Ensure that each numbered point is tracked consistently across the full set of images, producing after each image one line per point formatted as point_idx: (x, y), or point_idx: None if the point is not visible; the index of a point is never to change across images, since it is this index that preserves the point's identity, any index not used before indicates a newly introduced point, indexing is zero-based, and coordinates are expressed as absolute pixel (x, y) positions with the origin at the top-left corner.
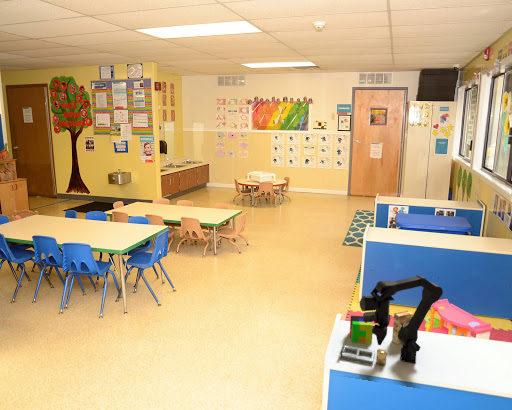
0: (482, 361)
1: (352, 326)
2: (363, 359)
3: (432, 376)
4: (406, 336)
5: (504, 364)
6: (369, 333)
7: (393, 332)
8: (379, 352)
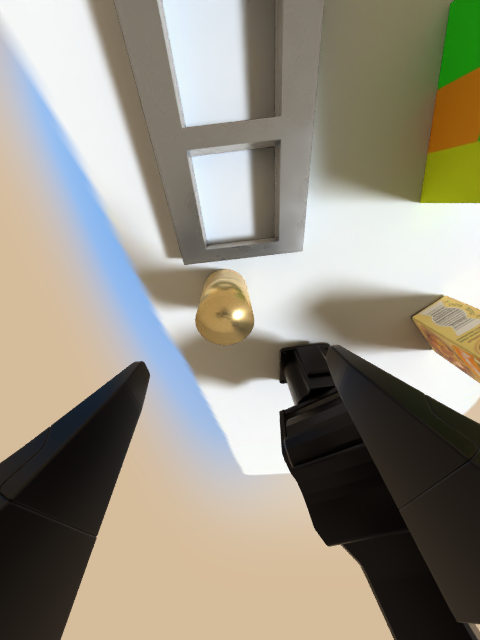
0: None
1: None
2: (169, 204)
3: (231, 412)
4: (305, 492)
5: None
6: None
7: None
8: (206, 312)
